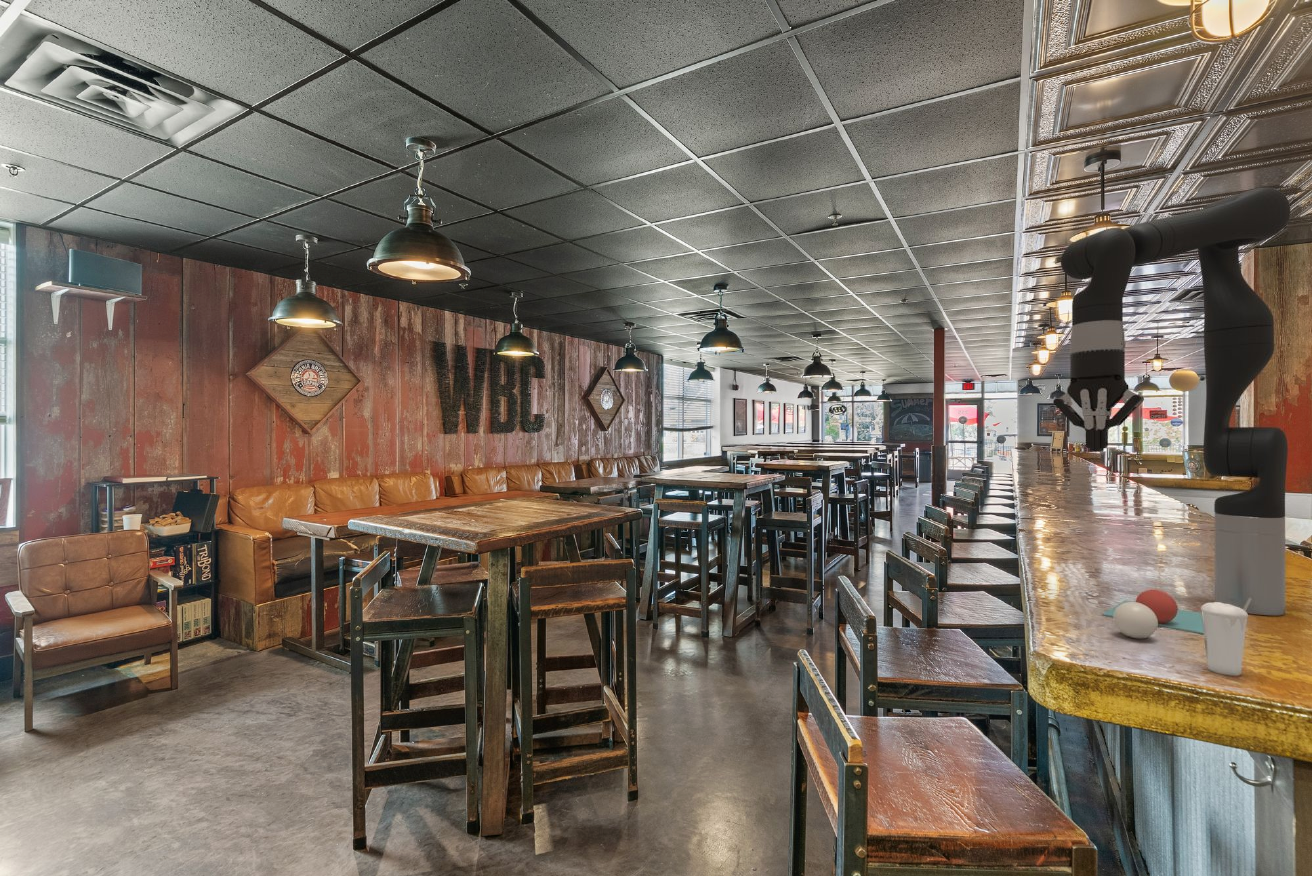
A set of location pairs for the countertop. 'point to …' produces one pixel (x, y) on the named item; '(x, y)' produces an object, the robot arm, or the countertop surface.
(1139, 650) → the countertop surface
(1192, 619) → the mark
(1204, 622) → the milkshake
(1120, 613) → the ball
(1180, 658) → the countertop surface
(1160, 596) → the ball
